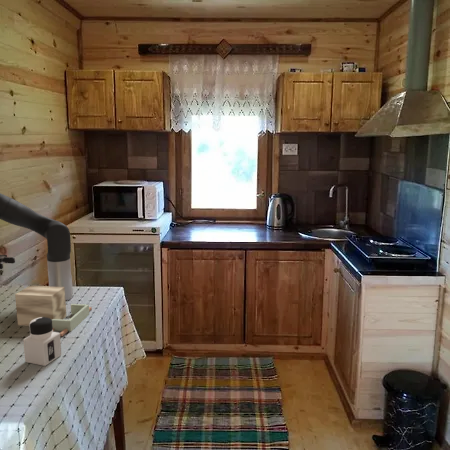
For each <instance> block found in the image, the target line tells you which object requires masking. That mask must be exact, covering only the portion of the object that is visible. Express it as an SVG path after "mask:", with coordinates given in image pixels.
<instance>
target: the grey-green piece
mask: <svg viewBox="0 0 450 450" xmlns="http://www.w3.org/2000/svg"><path fill="white" fill-rule="evenodd" d="M92 308H93V307H92V306H90V304H86V303H84V304H83V303H82V304H79V303H71V304H70V313H71V315H72V317H70V318H69V319H52V326H53V332H58V333H60V338H63V337H64V336H65V335H66V334H68V332H72V331H73V330H75V329H76V328H77V327H78V326H79V325H80V324H81V323H82V322H83V321H84V320H85V319H86V318H87V317H88V316H90V312H91V311H92V310H93V309H92Z"/></svg>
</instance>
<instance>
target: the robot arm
mask: <svg viewBox="0 0 450 450" xmlns="http://www.w3.org/2000/svg"><path fill="white" fill-rule="evenodd" d="M0 220H1V221H3V222H5V223H8V224H10V225H14V226H18V227H21V228H24V229H27V230H29V231H30V230H31V231H33V232H35V233H37V234H38V235H40V236H41V237H43V238H45V239H46V242H47V243H46V245H47V254H46V261H47V262H46V263H47V276H48V277H47V278H48V286H51V287H65V301H69V300H70V299H72V298H73V296H74V295H73V293H74V292H73V290H74V289H73V277H72V265H71V252H72V248H71V247H72V246H71V245H72V244H71V241H72V240H71V233H70V229H69V227H68V226H67V225H66V224H64V223H63V222H61V221H59V220H56V219H53V218H50V217H48V216H45V215H42V214H40V213H38V212H36V211H35V210H34V209H31V208H30V207H29V206H27V205H25V204H23V203H22V202H20V201H18V200H16V199H14V198H12V197H10V196H8V195H6V194H3V193H1V192H0ZM4 264H12V265H13V264H16V258H15V257H11V256H10V257H9V256H8V255H7V254H0V270H2V269H4Z"/></svg>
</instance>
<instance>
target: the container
mask: <svg viewBox="0 0 450 450" xmlns="http://www.w3.org/2000/svg"><path fill="white" fill-rule="evenodd" d="M28 327H29V335H28V336H26V337H25V338H23V349H24V350H23V352H24V362H25V363H28V364H34V365H39V366H43V367H46V366H47V365H49V364H50V363H52V362H53V361H55V360H57V358H59V357H61V356H62V344H61V343H62V342H61V337H60V333H58V332H53V326H52V320H51V319H50V318H47V317H40V318H36V319H34V320H32V321H31V322H30V323H29V326H28Z"/></svg>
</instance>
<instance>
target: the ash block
mask: <svg viewBox="0 0 450 450" xmlns="http://www.w3.org/2000/svg"><path fill="white" fill-rule="evenodd" d="M14 296H15V297H14V298H15V307H16V319H17V320H16V321H17V325H18V326H24V327H25V326H28V327H29V323H30V322H31V321H32V320H34V319H36V318H40V317H47V318H50V319H51V320H52V319H63V320H65V319H66V317H67V303H66V302H67V300H65V287H51V286H49V285H48V286H47V285H45V286H44V285H29V286H27V287H25V288H23V289H22V290H21V291H19V292H17V293H15V294H14Z"/></svg>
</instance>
